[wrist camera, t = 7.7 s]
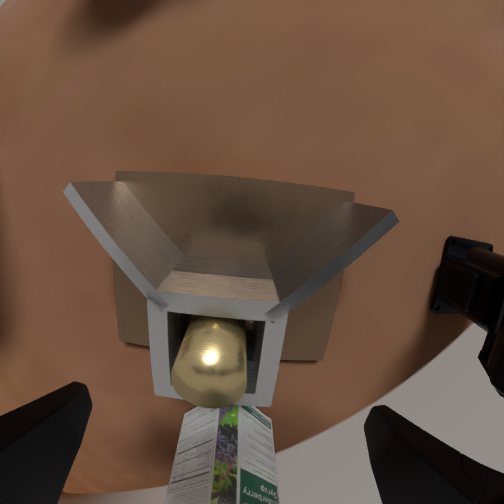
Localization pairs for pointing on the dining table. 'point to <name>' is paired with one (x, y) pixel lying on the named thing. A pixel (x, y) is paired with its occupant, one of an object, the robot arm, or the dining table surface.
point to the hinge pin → (212, 362)
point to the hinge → (227, 262)
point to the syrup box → (224, 458)
